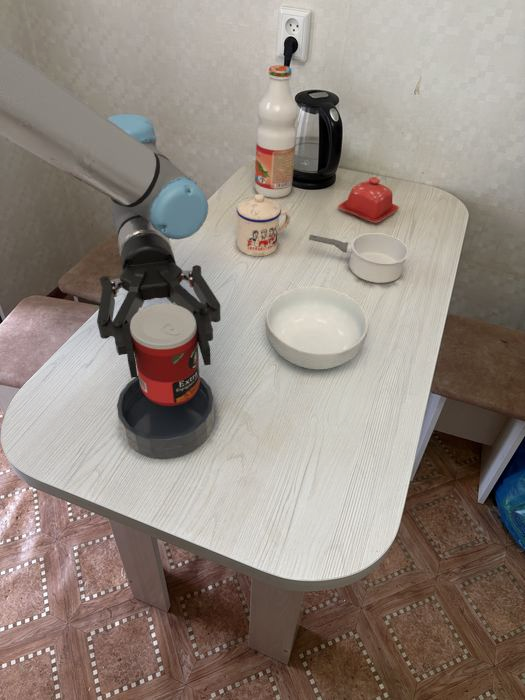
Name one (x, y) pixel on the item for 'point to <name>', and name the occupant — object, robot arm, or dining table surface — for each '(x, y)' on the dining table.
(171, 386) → the canned food
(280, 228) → the teacup with lid
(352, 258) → the saucepan
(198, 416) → the dark grey round dish
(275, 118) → the fruit juice
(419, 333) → the dining table surface
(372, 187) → the butter dish
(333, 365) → the cereal bowl
